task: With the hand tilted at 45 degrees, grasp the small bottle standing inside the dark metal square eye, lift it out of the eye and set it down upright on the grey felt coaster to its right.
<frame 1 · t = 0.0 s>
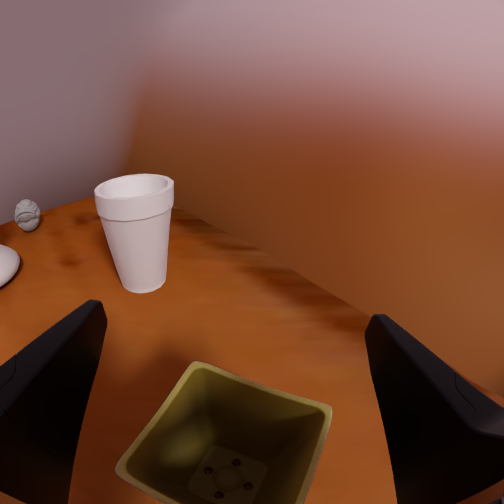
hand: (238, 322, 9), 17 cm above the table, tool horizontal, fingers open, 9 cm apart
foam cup: (143, 279, 37), on the table
flower pot: (227, 481, 16), on the table
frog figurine: (31, 231, 45), on the table
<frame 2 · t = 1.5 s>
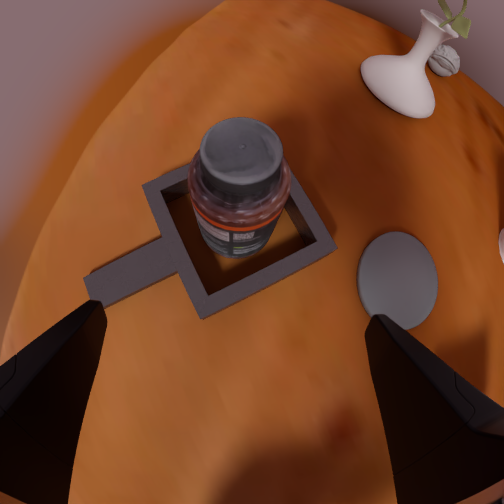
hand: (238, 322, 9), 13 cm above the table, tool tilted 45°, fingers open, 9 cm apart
supplement bottle: (235, 226, 24), resting in eye
eye: (235, 225, 24), on the table
coaster: (398, 281, 24), on the table
flower in vase: (393, 97, 30), on the table
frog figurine: (434, 73, 34), on the table
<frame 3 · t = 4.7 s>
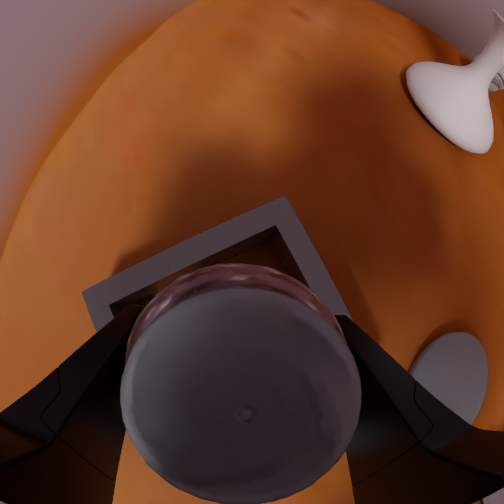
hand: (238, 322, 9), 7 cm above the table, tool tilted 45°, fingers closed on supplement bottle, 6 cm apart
supplement bottle: (233, 347, 15), resting in eye, touching gripper
eye: (233, 348, 15), on the table
coaster: (445, 393, 15), on the table
flower in vase: (443, 119, 21), on the table
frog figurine: (476, 85, 25), on the table
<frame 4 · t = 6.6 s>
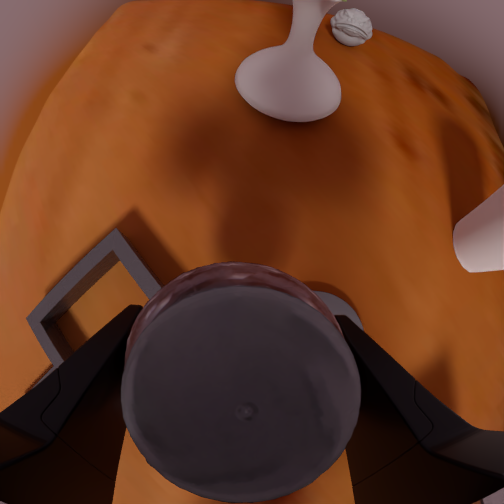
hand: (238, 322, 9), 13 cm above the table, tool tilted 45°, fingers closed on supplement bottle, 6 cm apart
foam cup: (468, 245, 25), on the table
supplement bottle: (231, 346, 15), point 6 cm above the table, touching gripper
eye: (116, 334, 20), on the table
coaster: (310, 347, 21), on the table
flower in vase: (285, 98, 27), on the table
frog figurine: (344, 44, 32), on the table
when the fingers open (8 cm above the table, at t = 8.8 s): supplement bottle stays where it is, resting on coaster.
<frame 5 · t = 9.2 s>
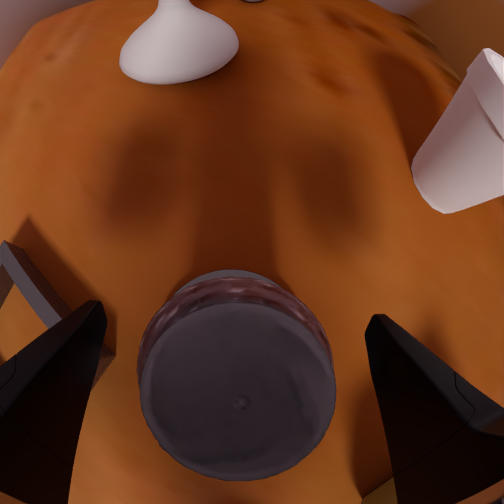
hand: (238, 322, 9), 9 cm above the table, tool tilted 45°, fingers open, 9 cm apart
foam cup: (436, 182, 21), on the table
supplement bottle: (231, 349, 16), point 1 cm above the table, touching coaster
eye: (26, 354, 15), on the table
coaster: (231, 345, 17), on the table
flower pot: (392, 493, 14), on the table
flower in vase: (178, 64, 22), on the table
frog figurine: (251, 2, 27), on the table
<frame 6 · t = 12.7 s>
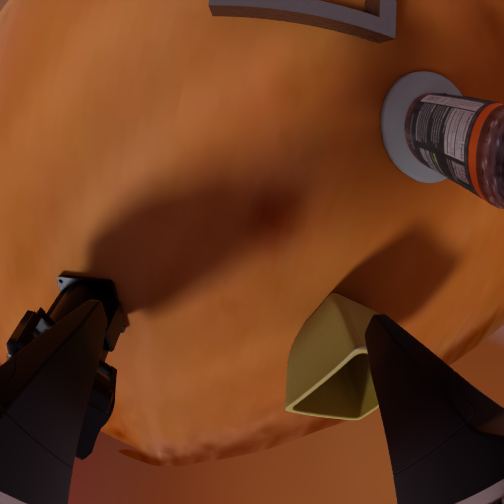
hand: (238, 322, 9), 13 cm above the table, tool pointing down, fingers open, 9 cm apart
supplement bottle: (430, 128, 17), point 1 cm above the table, touching coaster
coaster: (428, 126, 17), on the table
flower pot: (333, 315, 27), on the table
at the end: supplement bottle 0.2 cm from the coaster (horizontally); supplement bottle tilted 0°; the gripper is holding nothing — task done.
